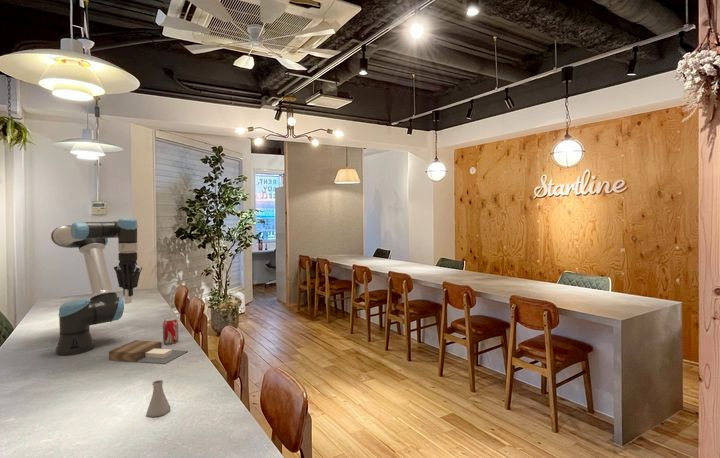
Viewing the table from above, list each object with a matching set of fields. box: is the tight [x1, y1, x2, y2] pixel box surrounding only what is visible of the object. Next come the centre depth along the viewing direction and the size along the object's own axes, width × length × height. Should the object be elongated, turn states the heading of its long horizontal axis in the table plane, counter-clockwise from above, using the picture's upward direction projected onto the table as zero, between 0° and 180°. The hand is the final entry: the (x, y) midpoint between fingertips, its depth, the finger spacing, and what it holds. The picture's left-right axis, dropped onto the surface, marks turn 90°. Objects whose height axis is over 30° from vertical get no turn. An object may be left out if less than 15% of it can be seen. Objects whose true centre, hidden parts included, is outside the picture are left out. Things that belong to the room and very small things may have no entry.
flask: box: [145, 379, 171, 418], centre depth 130 cm, size 7×7×10 cm
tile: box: [145, 348, 173, 358], centre depth 182 cm, size 9×6×2 cm, turn 81°
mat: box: [136, 349, 189, 365], centre depth 181 cm, size 14×16×1 cm
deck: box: [108, 339, 162, 363], centre depth 184 cm, size 14×16×4 cm
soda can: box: [162, 317, 179, 345], centre depth 202 cm, size 7×7×12 cm
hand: (128, 302), depth 184 cm, fingers closed
